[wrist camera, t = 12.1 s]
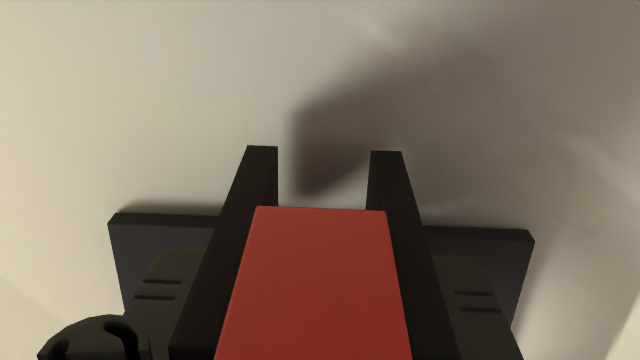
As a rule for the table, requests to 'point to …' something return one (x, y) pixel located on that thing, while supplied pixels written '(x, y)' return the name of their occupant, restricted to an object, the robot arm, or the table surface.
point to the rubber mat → (478, 243)
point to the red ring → (316, 289)
